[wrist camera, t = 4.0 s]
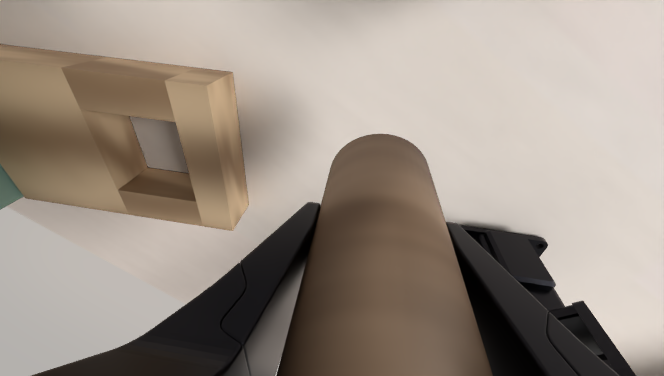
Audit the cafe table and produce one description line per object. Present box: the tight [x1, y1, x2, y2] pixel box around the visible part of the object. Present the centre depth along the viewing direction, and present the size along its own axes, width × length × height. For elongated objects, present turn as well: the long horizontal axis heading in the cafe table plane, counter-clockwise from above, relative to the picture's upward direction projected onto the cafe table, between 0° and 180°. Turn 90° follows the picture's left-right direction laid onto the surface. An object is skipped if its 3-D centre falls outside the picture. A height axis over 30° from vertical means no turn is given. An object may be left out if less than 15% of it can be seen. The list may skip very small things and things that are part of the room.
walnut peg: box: [277, 134, 493, 376], centre depth 8 cm, size 4×4×8 cm
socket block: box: [0, 44, 249, 231], centre depth 18 cm, size 10×16×3 cm, turn 85°
